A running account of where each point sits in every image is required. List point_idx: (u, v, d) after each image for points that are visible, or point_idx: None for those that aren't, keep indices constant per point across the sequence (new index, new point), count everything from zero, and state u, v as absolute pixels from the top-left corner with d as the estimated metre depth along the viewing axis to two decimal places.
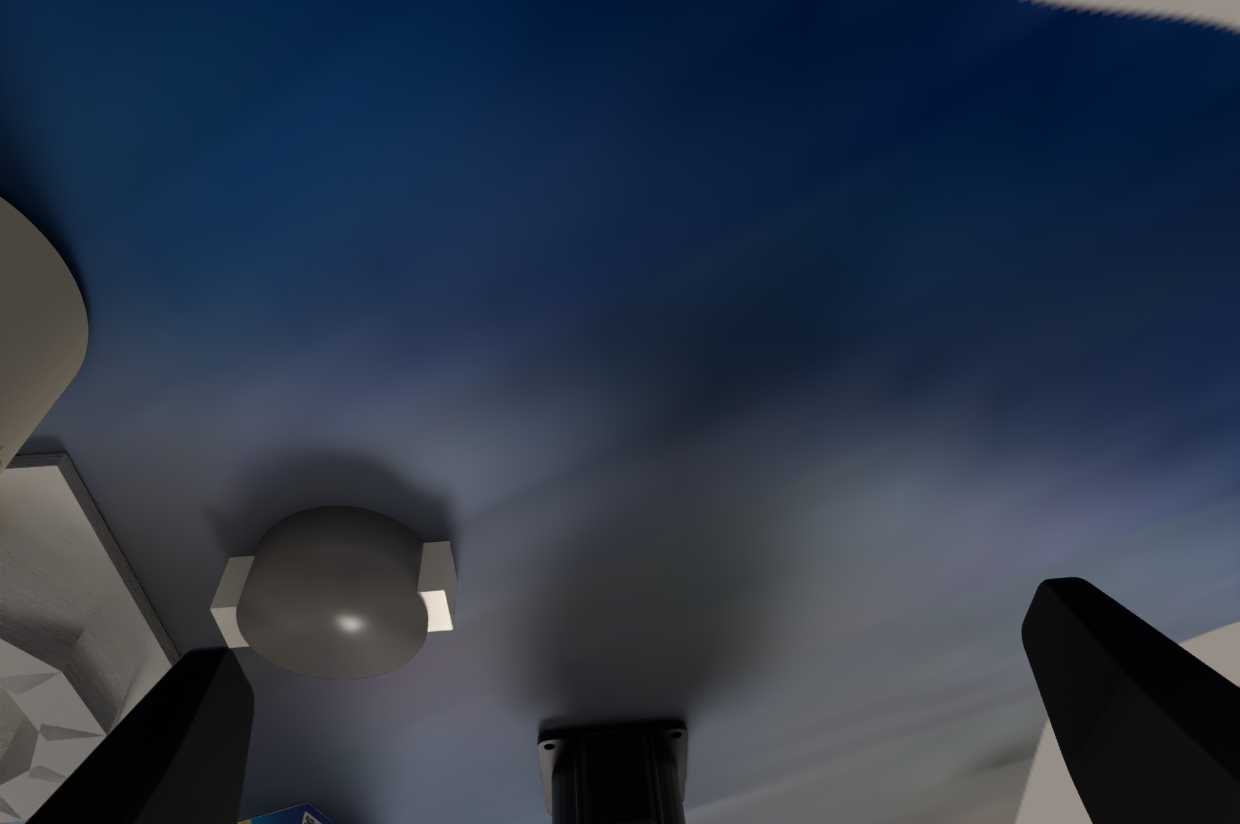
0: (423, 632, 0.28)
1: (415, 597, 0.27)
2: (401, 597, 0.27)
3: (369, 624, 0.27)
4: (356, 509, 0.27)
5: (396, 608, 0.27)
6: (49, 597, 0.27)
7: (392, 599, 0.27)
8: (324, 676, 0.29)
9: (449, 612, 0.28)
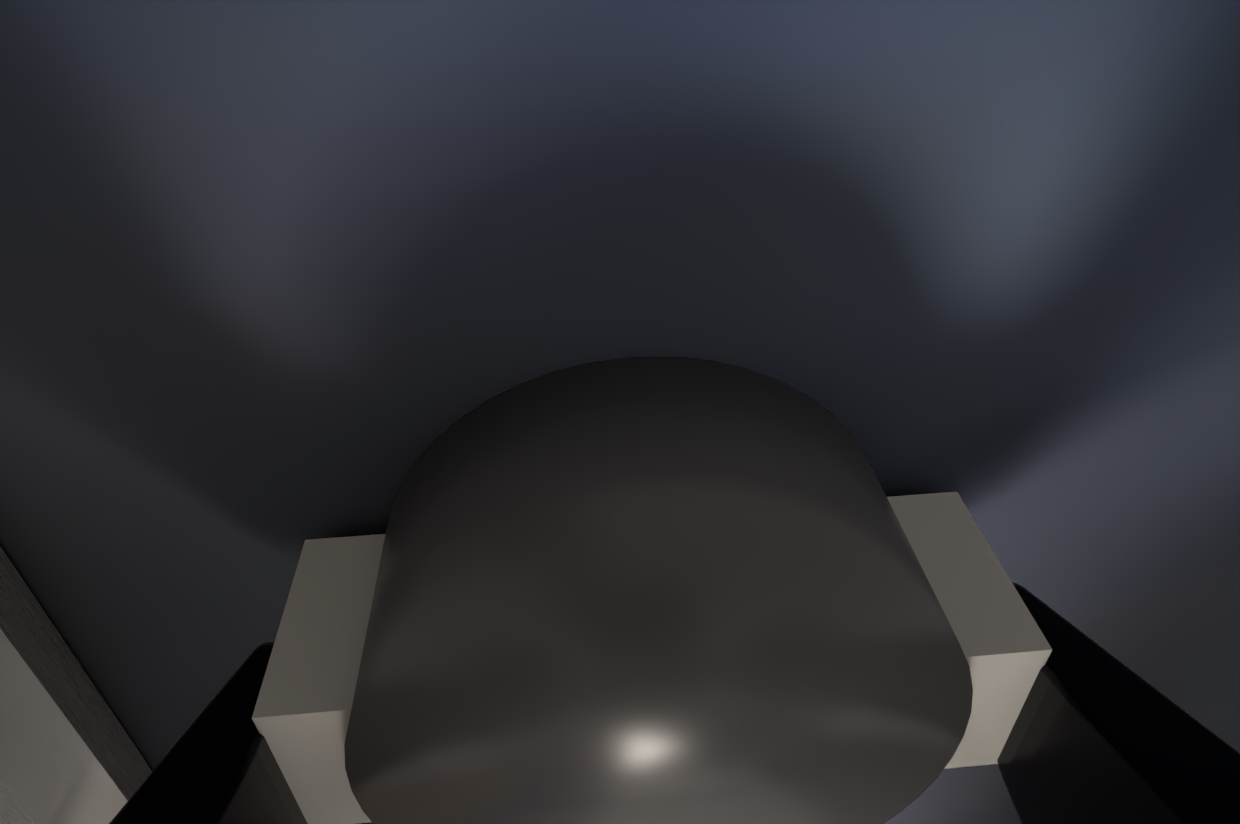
0: (925, 778, 0.09)
1: (961, 675, 0.08)
2: (921, 678, 0.08)
3: (775, 759, 0.08)
4: (731, 379, 0.08)
5: (887, 709, 0.08)
6: None
7: (890, 683, 0.08)
8: None
9: (1014, 715, 0.09)
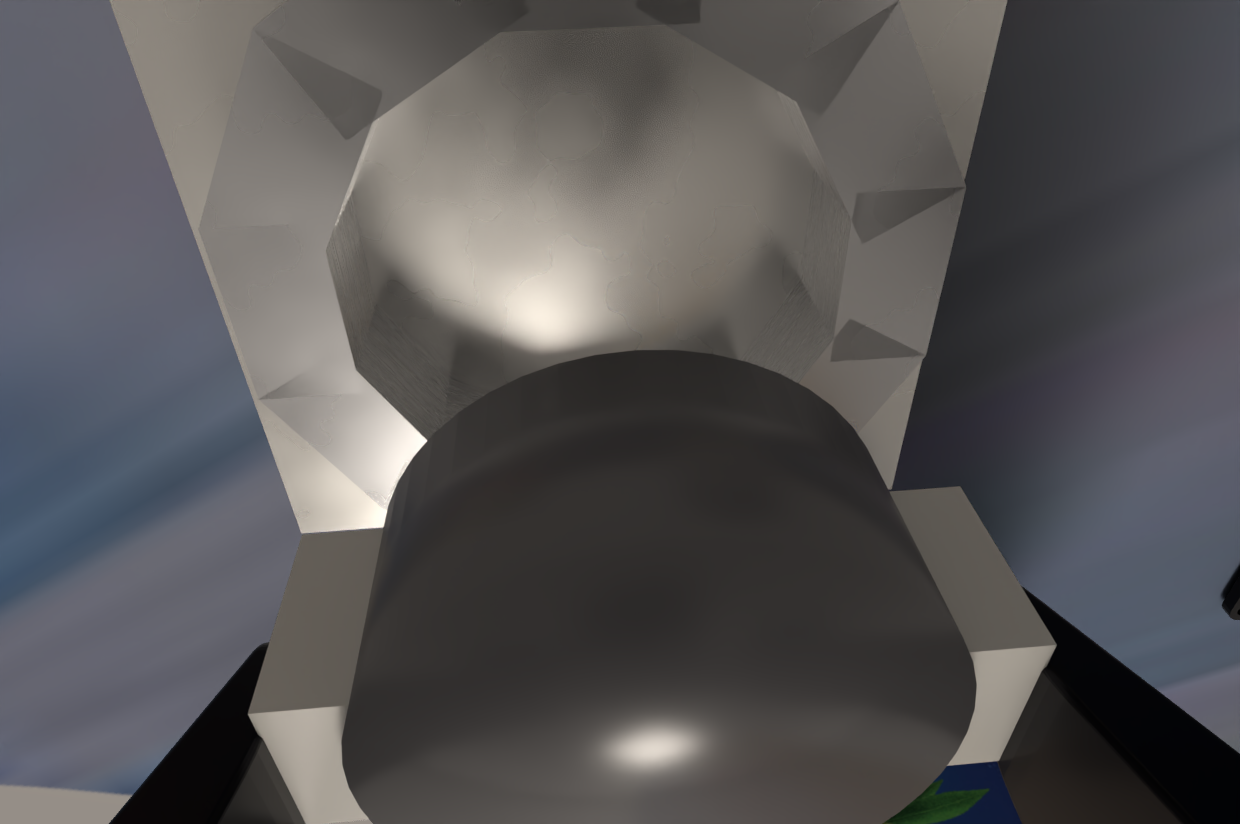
0: (928, 775, 0.09)
1: (965, 670, 0.08)
2: (924, 673, 0.07)
3: (777, 755, 0.08)
4: (733, 372, 0.08)
5: (891, 705, 0.08)
6: None
7: (893, 678, 0.07)
8: None
9: (1018, 712, 0.09)
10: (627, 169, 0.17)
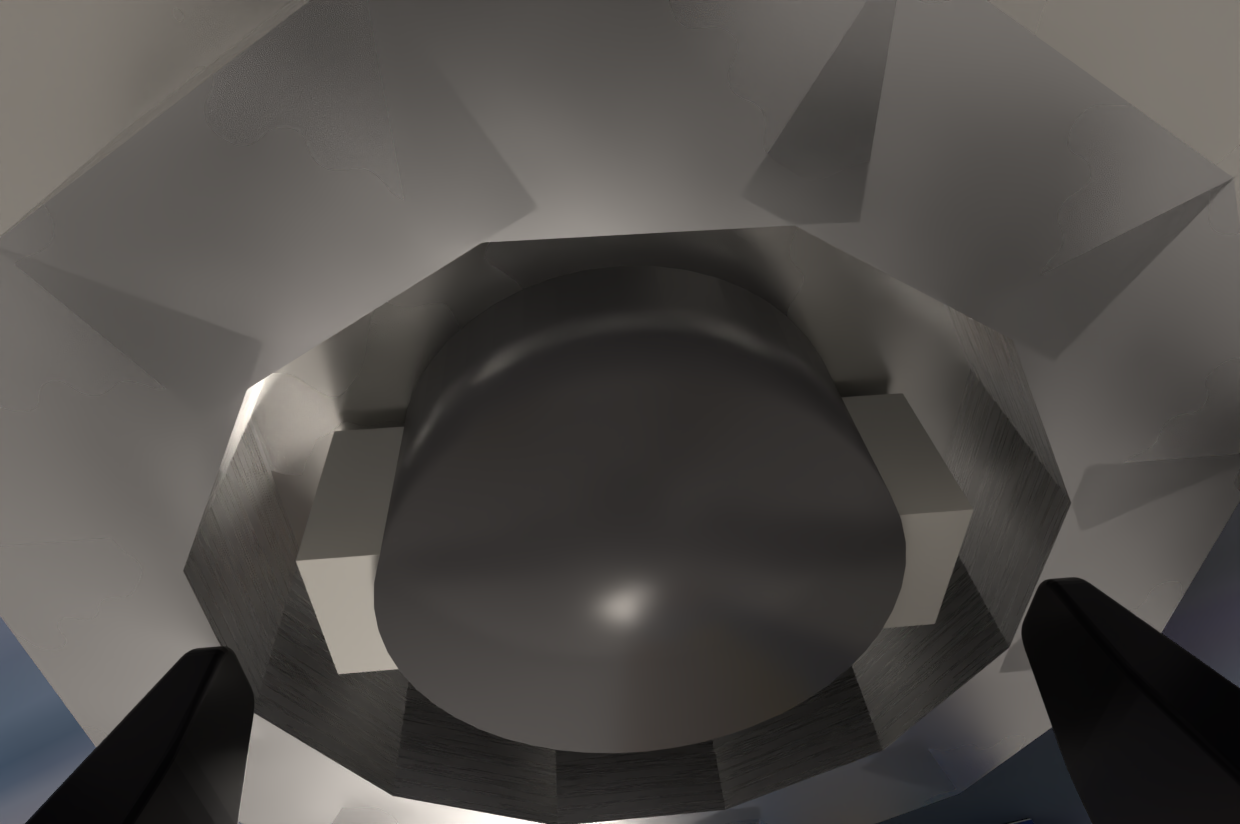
0: (870, 631, 0.10)
1: (895, 529, 0.09)
2: (861, 529, 0.09)
3: (740, 607, 0.10)
4: (703, 284, 0.10)
5: (834, 560, 0.09)
6: None
7: (834, 534, 0.09)
8: (575, 745, 0.11)
9: (946, 576, 0.10)
10: None
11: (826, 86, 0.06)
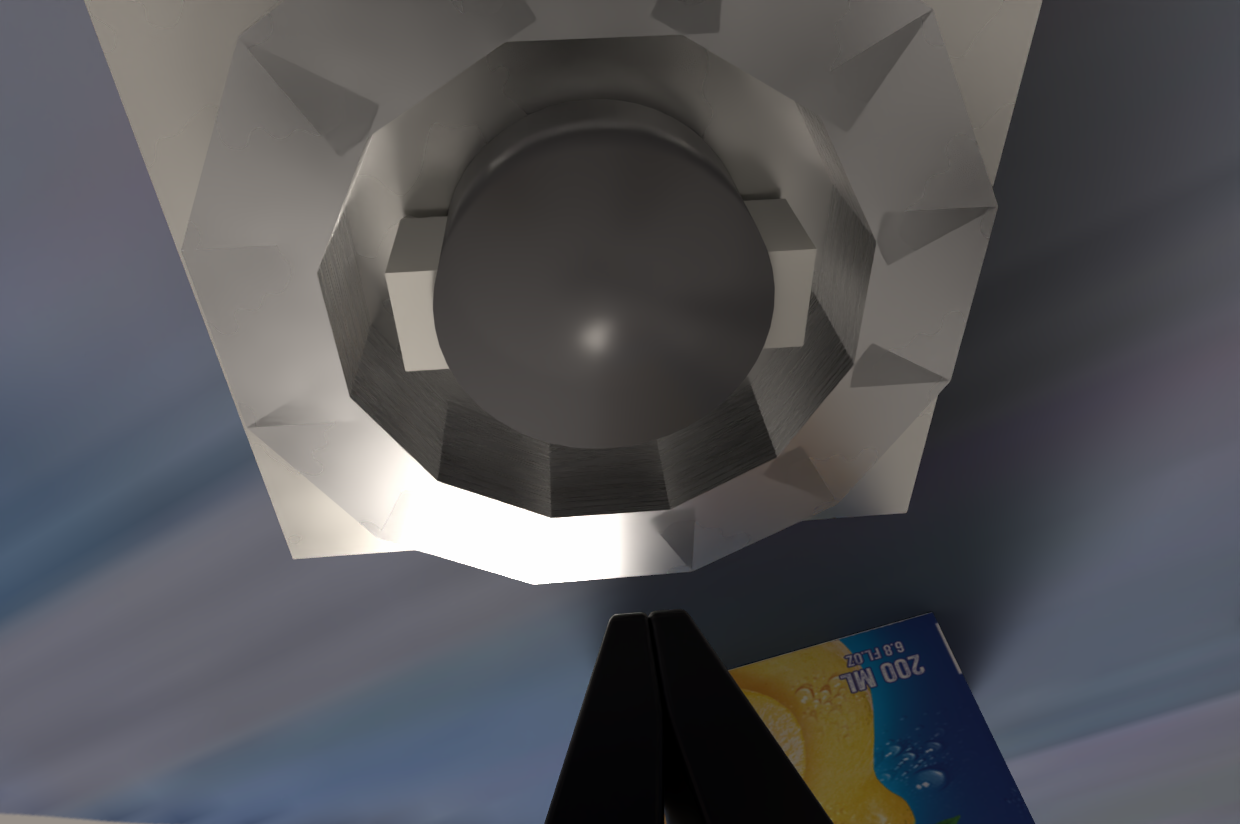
0: (757, 344, 0.15)
1: (765, 259, 0.14)
2: (742, 256, 0.14)
3: (668, 319, 0.15)
4: (644, 109, 0.15)
5: (727, 282, 0.14)
6: None
7: (725, 260, 0.14)
8: (563, 439, 0.16)
9: (807, 306, 0.15)
10: None
11: None
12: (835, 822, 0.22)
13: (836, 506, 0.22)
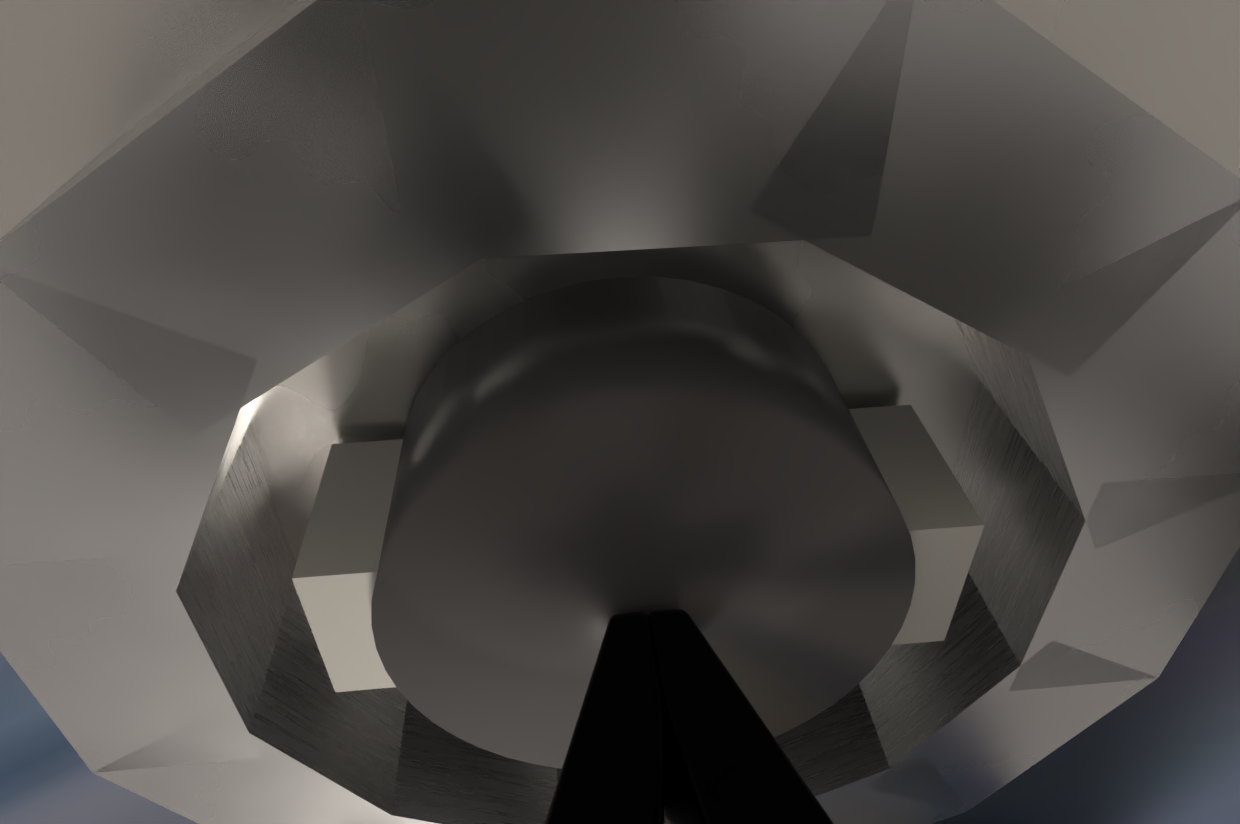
0: (879, 648, 0.10)
1: (905, 545, 0.09)
2: (869, 545, 0.09)
3: (745, 625, 0.09)
4: (707, 294, 0.09)
5: (841, 577, 0.09)
6: None
7: (842, 550, 0.09)
8: None
9: (956, 592, 0.10)
10: None
11: (839, 97, 0.06)
12: None
13: None
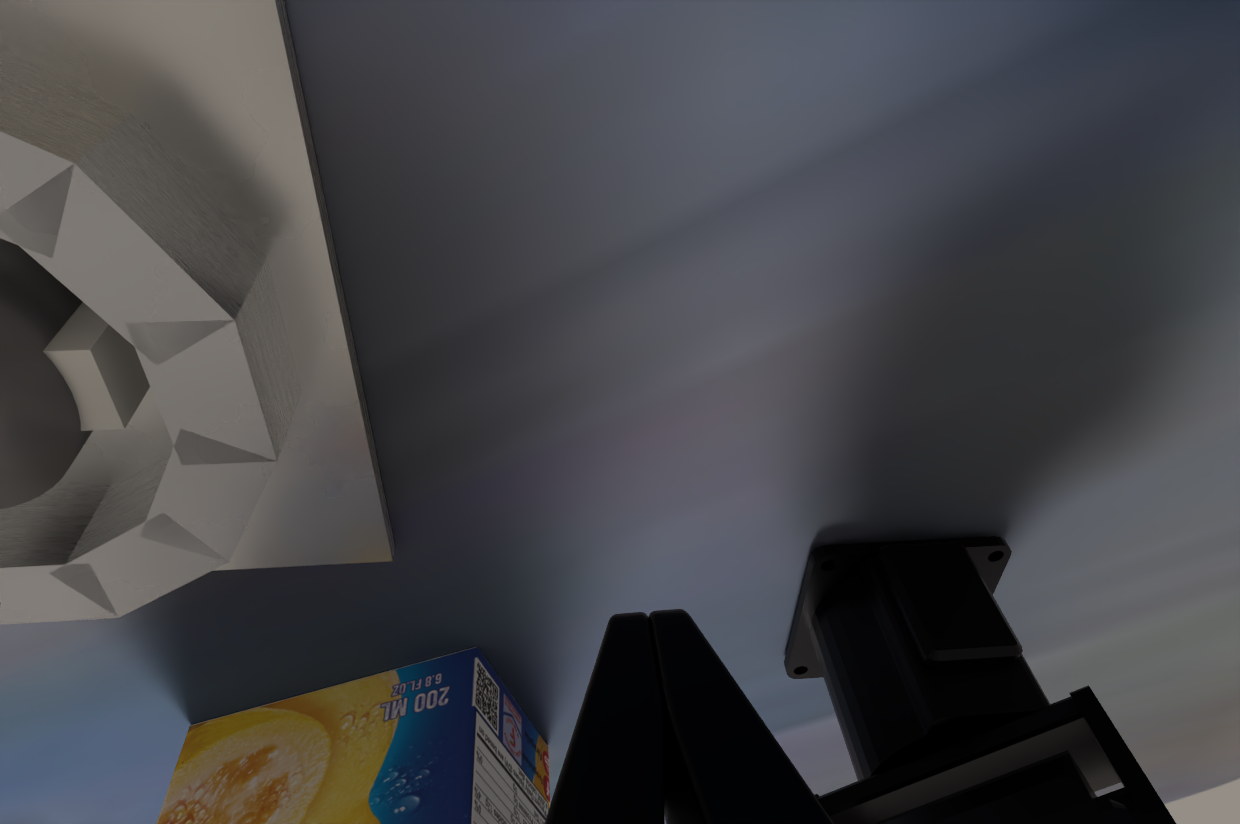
0: (70, 428, 0.17)
1: (38, 358, 0.16)
2: (11, 356, 0.16)
3: None
4: None
5: (9, 376, 0.16)
6: (207, 214, 0.17)
7: None
8: None
9: (112, 396, 0.17)
10: None
11: None
12: None
13: (319, 554, 0.24)
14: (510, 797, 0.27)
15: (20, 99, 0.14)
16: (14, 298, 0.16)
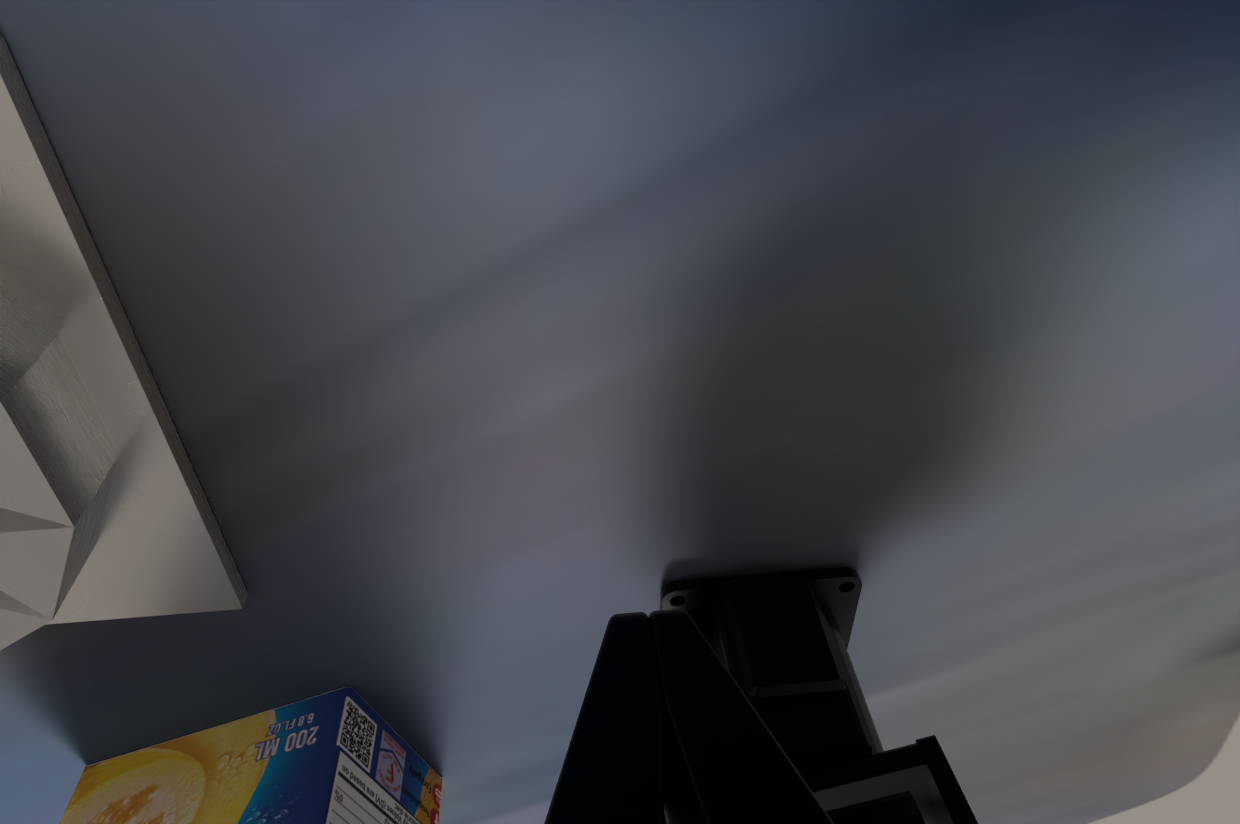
0: None
1: None
2: None
3: None
4: None
5: None
6: None
7: None
8: None
9: None
10: None
11: None
12: None
13: (170, 604, 0.25)
14: None
15: None
16: None
